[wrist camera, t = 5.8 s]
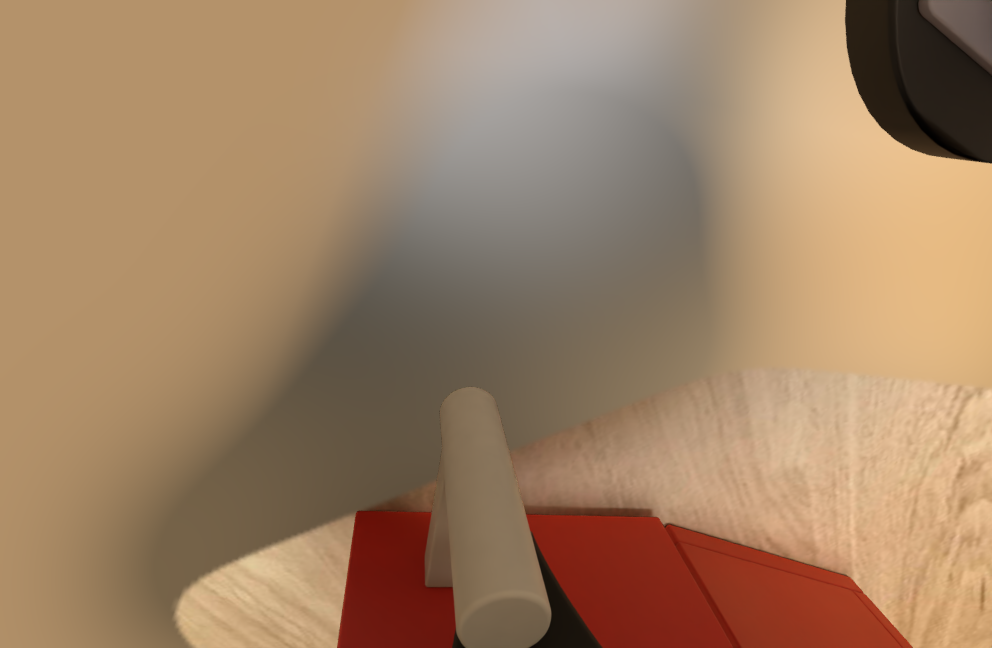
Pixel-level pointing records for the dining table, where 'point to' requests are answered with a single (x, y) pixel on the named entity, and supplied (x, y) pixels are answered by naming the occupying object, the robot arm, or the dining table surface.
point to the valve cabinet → (781, 598)
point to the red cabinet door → (510, 561)
